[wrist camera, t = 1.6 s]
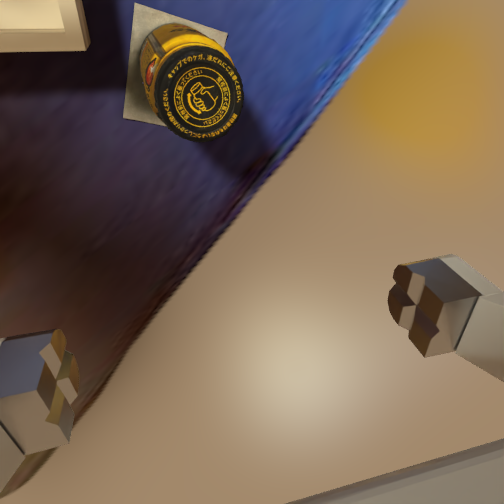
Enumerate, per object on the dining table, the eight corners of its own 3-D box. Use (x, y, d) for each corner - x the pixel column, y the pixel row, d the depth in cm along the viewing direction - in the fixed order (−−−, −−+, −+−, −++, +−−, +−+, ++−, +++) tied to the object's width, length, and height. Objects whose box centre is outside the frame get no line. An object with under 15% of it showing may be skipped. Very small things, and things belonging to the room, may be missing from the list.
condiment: (227, 33, 30) (273, 53, 20) (205, 134, 34) (235, 189, 25) (134, 2, 27) (140, 9, 18) (123, 116, 31) (122, 171, 22)
